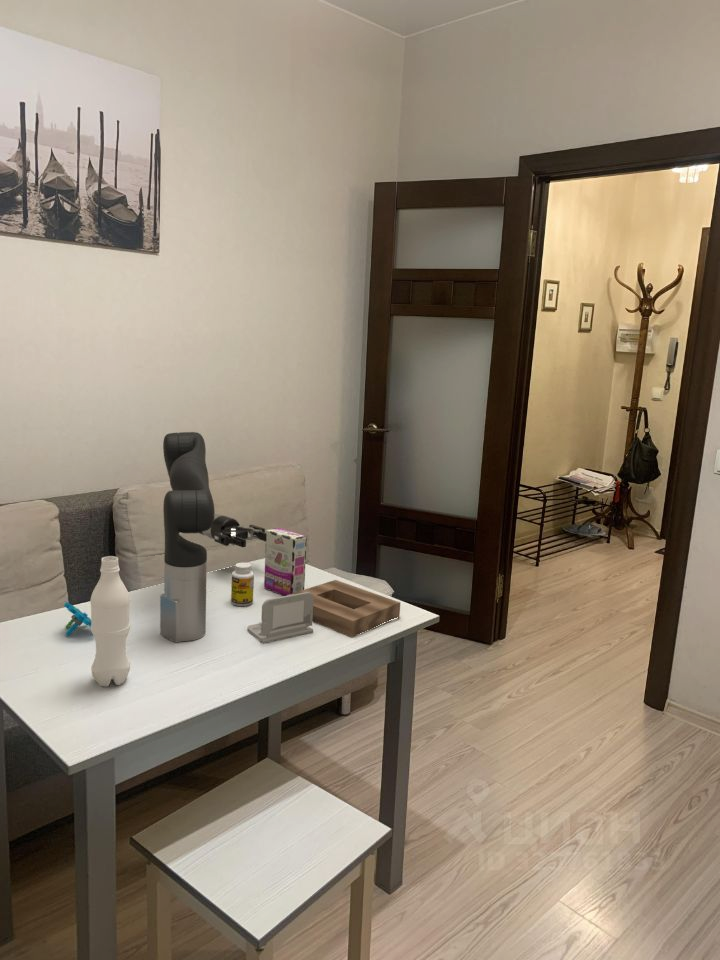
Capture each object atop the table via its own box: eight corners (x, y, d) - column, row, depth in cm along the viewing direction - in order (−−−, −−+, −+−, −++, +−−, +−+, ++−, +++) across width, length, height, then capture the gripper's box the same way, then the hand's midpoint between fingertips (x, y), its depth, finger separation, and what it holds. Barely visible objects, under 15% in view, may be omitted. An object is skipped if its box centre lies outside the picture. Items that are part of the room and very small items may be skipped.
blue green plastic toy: (107, 632, 162) (71, 604, 158) (88, 654, 160) (51, 626, 156) (98, 620, 172) (64, 594, 168) (80, 641, 170) (45, 615, 166)
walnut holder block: (352, 637, 171) (352, 621, 170) (286, 610, 185) (286, 595, 184) (399, 617, 185) (400, 602, 184) (334, 593, 198) (335, 579, 198)
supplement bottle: (227, 605, 186) (228, 566, 184) (236, 597, 191) (237, 560, 189) (247, 608, 185) (248, 569, 183) (256, 601, 190) (257, 563, 188)
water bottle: (93, 691, 139) (91, 565, 134) (90, 675, 146) (88, 554, 141) (132, 686, 142) (131, 562, 137) (128, 670, 149) (127, 551, 144)
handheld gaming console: (293, 619, 180) (295, 580, 178) (313, 633, 173) (315, 592, 171) (244, 629, 172) (246, 589, 170) (263, 644, 165) (264, 602, 163)
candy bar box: (305, 595, 196) (308, 535, 193) (291, 599, 193) (294, 539, 189) (276, 584, 203) (278, 526, 200) (263, 588, 200) (265, 529, 196)
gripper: (200, 519, 208) (237, 532, 197) (239, 511, 218) (276, 523, 208) (199, 544, 209) (236, 559, 199) (239, 536, 220) (275, 549, 210)
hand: (257, 541), depth 204 cm, fingers open, 8 cm apart
